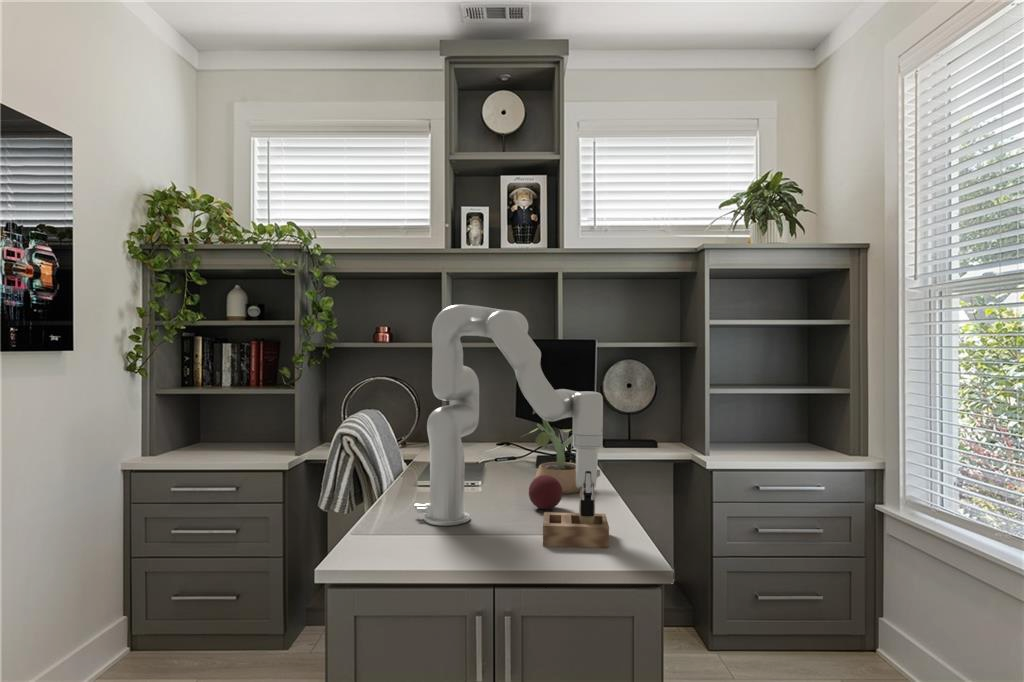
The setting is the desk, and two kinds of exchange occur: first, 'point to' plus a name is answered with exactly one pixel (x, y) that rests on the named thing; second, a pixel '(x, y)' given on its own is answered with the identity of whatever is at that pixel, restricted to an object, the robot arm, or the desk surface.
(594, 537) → the wooden shelf
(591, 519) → the handle
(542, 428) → the potted plant
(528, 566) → the desk surface
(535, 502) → the decorative ball
